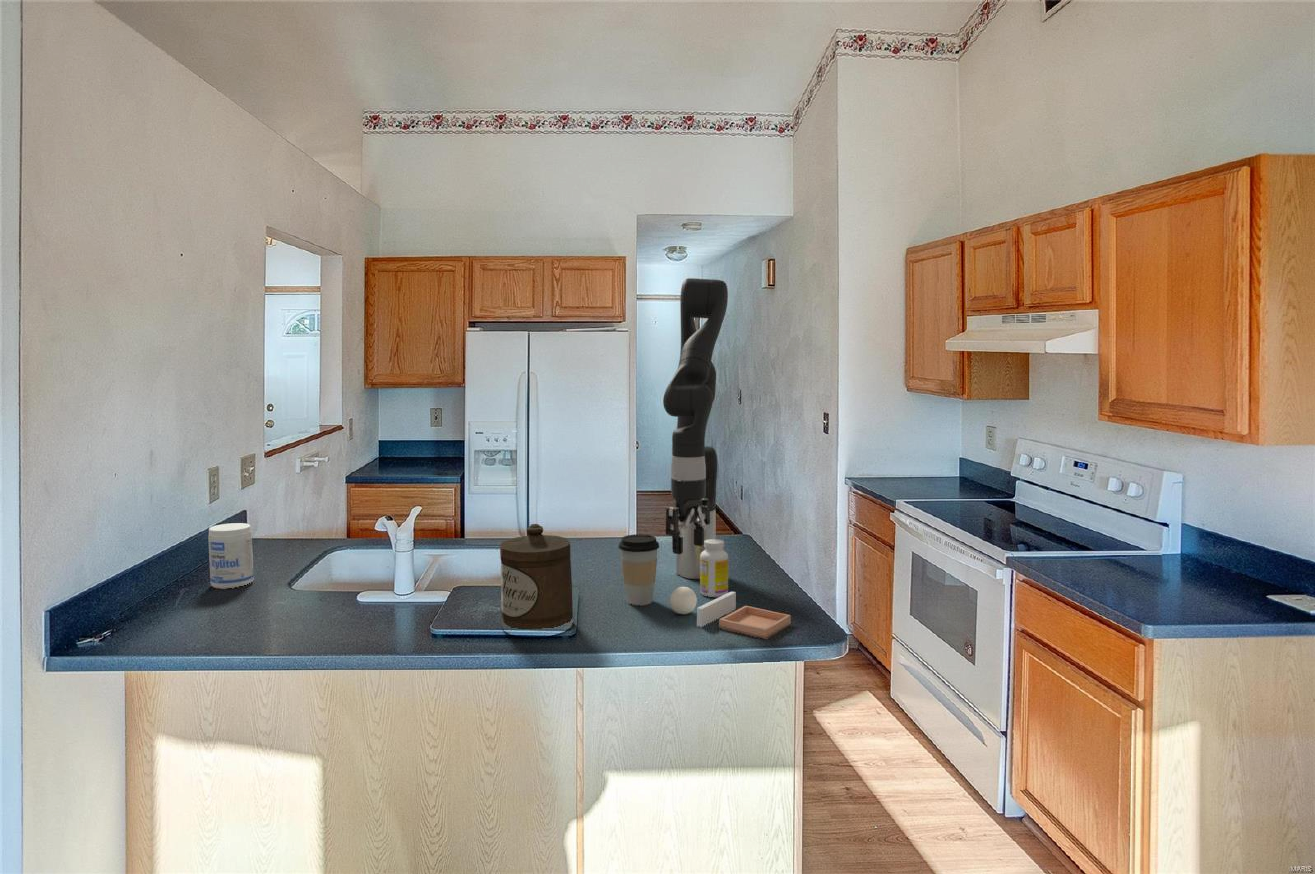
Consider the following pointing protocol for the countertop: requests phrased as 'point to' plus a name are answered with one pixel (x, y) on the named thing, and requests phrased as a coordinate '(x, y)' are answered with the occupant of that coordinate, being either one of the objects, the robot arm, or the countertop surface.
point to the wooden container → (536, 580)
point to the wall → (716, 608)
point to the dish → (755, 622)
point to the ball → (683, 600)
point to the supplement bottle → (714, 569)
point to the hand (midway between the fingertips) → (688, 549)
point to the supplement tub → (230, 555)
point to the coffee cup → (639, 567)
